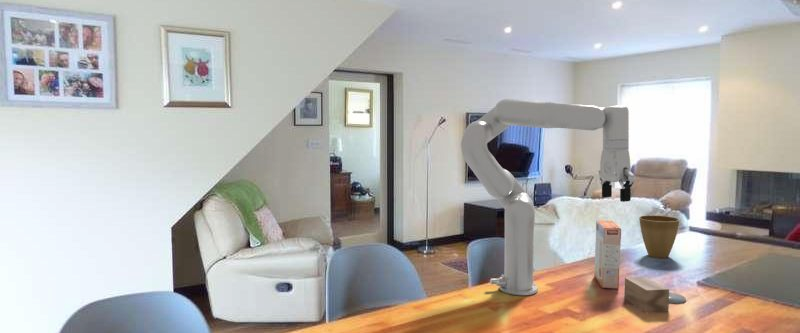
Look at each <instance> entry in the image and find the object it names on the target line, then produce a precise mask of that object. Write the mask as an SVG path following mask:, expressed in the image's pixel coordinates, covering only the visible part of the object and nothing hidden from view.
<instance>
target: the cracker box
mask: <svg viewBox="0 0 800 333" xmlns="http://www.w3.org/2000/svg"><path fill="white" fill-rule="evenodd" d="M595 225H596V226H595V252H594V253H595V254H594V274H593V275H594V279H596V281H597V283H598V284H599V286H600V287H601V289H612V290H613V289H615V290H619V286H620V268H621V267H620V266H621V264H620V262H621V245H622V244H621V243H622V242H621V241H622V228H621V226H619V225H618V224H616V223H615V222H614V221H612V220H601V219H600V220H596V223H595Z"/></svg>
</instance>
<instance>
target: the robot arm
mask: <svg viewBox="0 0 800 333" xmlns="http://www.w3.org/2000/svg"><path fill="white" fill-rule="evenodd" d="M629 114H630V113H629V108H628V107H627V106H625V105H611V106H609V105H608V106H606V107H598V106H596V105H588V104H587V105H583V104H571V103H570V104H569V103H560V102H559V103H558V102H551V101H545V100H544V101H542V100H541V101H540V100H529V99H528V100H525V99H513V98H512V99H511V98H510V99H509V98H506V99H505V98H504V99H501V100H499V101H498V102H497V103H496V104H495V106H494V107H493V108H492V109H490V110H489V111H488V112H487V113H485V114H484V115H483V116H481V117H480V118H478V119H477V120H475V121H473V122H470V123H469V124H468V125H467V127H466V128H465V130H464V132H463V135H462V137H461V140H460V147H461V148H460V150H461V155H462V157H463V159H464V162H466V164H467V165H468V167H469V168H470V170H471V171H472V172H473V174H474V176H476V178H477V179H478V180H479V182H480V183H481V185H482V186H483V187H484V189H485V191H486V192H487V193H488V195H490V196H491V197H492V198H495V199H496V200H497V201H498V202H499V204H500V205H501V206H502V208H503V209H504V265H503V266H504V268H503V270H504V271H503V273H504V274H501V276H500V277H498V278H494V277H493V278H490V279H489V283H490V285H496V286H497V287H499V290H501V291H502V292H503V293H505V294H508V295H514V296H531V295H535V294H537V292H538V291H539V288H538V285H536V284H535V283H534V266H535V265H534V264H535V263H534V254H535V253H534V252H535V251H534V250H535V245H534V244H535V243H534V242H535V218H536V214H535V213H536V210H535V206H534V202H533V200H532V198H531V197H530V195H529V194H528V193H527V192H526V191H525V189H524V188H523V187H522V185H521V184H520V183H519V181H518V180H517V179H516V177H514V175H513V174H512V173H511V172H510V171H509V170H507V169H505V168H503V167H502V166H501V164H499V162H498V161H497V160H496V158H495V156H494V155H493V153H491V151H490V150H489V148H488V143H490V142H491V141H492V140H493V139H495V138H496V137H497V136H499V135H500V134H501V133H502V132H504V131H506V130H507V129H508V128H509V127H510V126H515V127H527V128H539V129H566V130H567V129H569V130H570V129H571V130H583V131H597V130H599V129H602V150H601V153H600V154H601V155H600V160H599V161H600V163H599V164H600V165H599V170H598V176H599V180H600V185H601V198H612V194H613V192H612V190H613V188H612V187H613V186H612V184H611V183H612V182H613V183H619V185H620V188H619V195H620V196H619V201H620V202H622V203H623V202H624V203H625V202H630V201H631V200H632V199H631V196H632V195H631V191H632V190H631V189H632V188H633V184H634V180H635V178H636V175H635V174H634V173H633V172H632V171H631V170H632V169H631V158H630V151H629V148H630V147H629V146H630V145H629V144H630V143H629V139H630V138H629V137H630V133H629V130H630V128H629V126H630V125H629V122H630V117H629Z"/></svg>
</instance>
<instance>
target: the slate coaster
mask: <svg viewBox="0 0 800 333" xmlns="http://www.w3.org/2000/svg"><path fill="white" fill-rule="evenodd" d="M686 301H687V298H686V297H685V296H684V295H681V294H679V293H676V292H670V291H669V304H684V303H685V302H686Z"/></svg>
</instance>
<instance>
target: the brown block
mask: <svg viewBox="0 0 800 333" xmlns="http://www.w3.org/2000/svg"><path fill="white" fill-rule="evenodd" d="M669 292H670V289H669V288H667V287H666V286H663V285H662V284H660V283H658V282H656V281H654V280H653V279H651V278H649V277H646V276H641V277H640V276H639V277H638V276H637V277H636V276H635V277H634V276H633V277H624V298H623V299H624V300H626V302H628V303H630V304H632V305H634V306H635V307H636V308H638V309H640V310H641V311H642V312H644V313H645V314H649V313H669V310H670V308H669V306H670V303H669Z"/></svg>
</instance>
